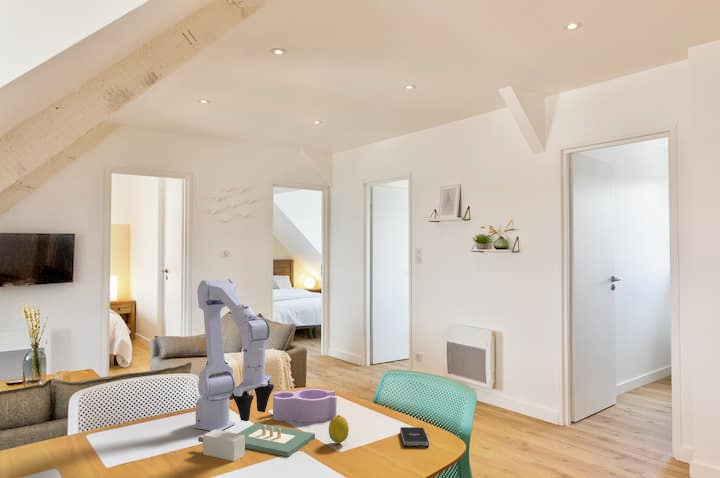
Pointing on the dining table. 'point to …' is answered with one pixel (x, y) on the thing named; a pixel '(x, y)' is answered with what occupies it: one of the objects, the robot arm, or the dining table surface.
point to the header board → (275, 439)
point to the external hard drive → (414, 437)
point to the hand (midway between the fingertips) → (253, 415)
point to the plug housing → (223, 445)
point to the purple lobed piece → (304, 405)
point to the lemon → (338, 429)
